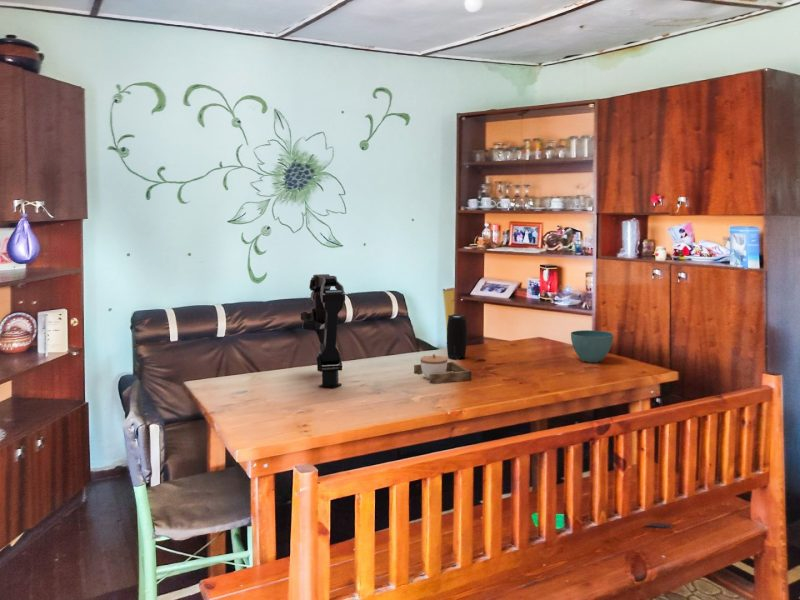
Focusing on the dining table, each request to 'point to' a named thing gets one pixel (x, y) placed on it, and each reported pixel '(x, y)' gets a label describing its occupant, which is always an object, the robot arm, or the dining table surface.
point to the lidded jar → (433, 365)
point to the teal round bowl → (591, 344)
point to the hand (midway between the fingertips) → (322, 344)
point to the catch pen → (456, 375)
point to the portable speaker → (456, 336)
